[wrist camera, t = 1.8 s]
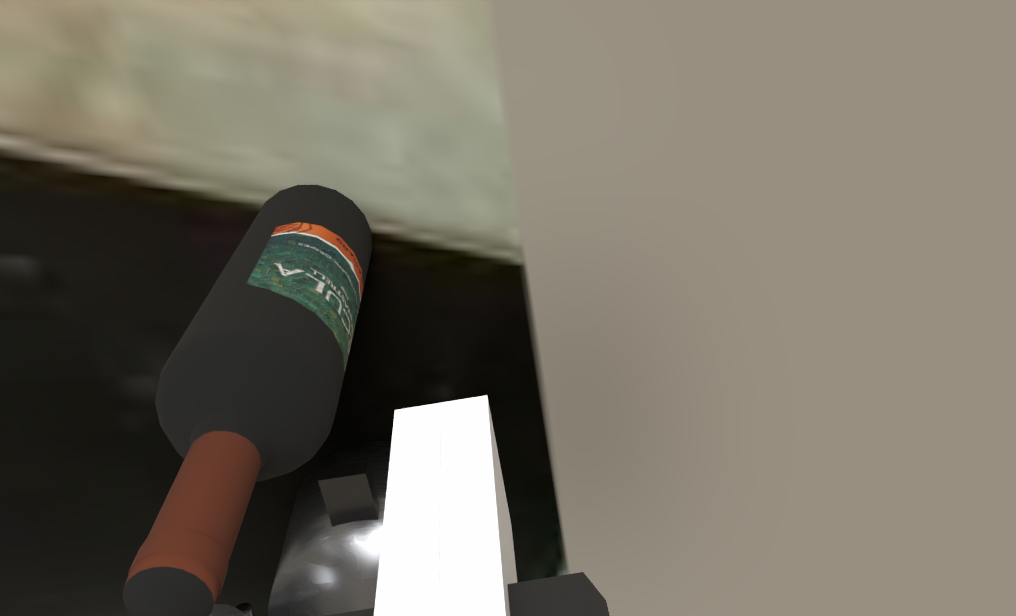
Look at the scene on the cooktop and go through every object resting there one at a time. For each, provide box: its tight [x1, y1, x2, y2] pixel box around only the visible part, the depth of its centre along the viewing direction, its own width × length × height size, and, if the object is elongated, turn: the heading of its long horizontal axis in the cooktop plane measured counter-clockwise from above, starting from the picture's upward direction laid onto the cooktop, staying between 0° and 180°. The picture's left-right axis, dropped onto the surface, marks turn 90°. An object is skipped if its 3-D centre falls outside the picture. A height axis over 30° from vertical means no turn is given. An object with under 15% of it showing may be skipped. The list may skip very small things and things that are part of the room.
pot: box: [268, 440, 392, 616], centre depth 58 cm, size 14×21×10 cm, turn 8°
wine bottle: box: [122, 185, 372, 616], centre depth 38 cm, size 8×8×30 cm
